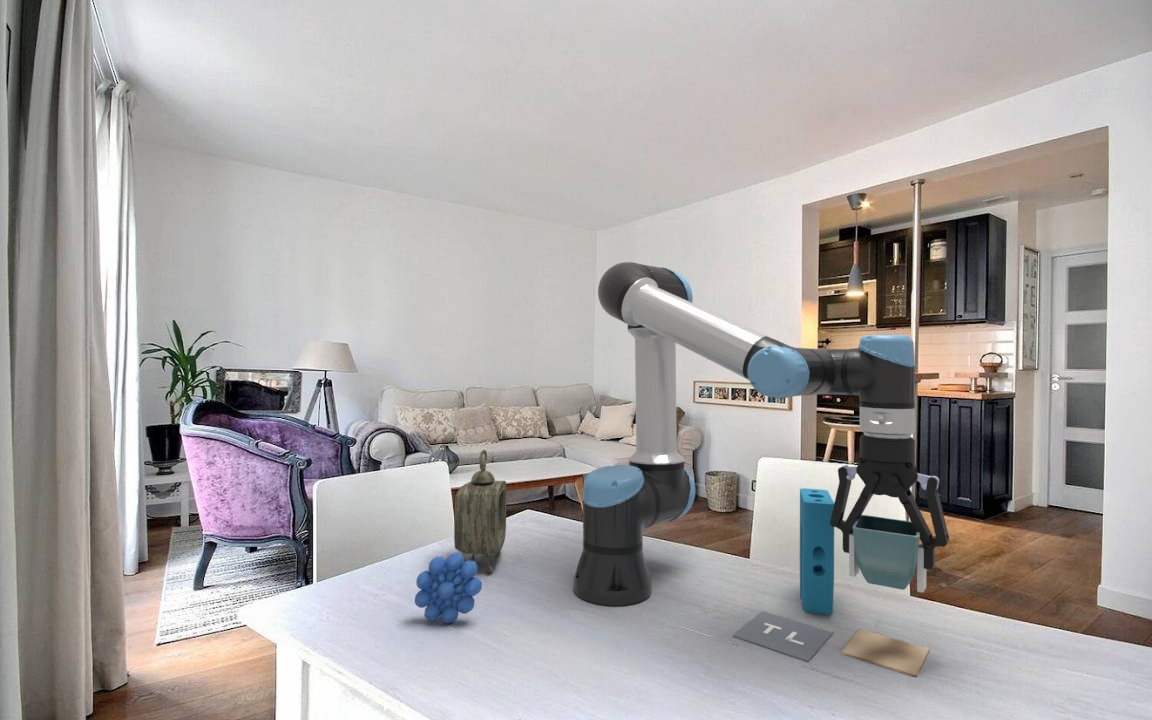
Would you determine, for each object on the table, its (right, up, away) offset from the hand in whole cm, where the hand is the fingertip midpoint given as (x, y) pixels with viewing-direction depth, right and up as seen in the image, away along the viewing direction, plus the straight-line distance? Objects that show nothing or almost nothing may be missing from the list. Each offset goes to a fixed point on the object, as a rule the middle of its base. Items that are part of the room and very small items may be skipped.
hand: (886, 581), depth 88 cm
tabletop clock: (-69, -11, +37) cm, 79 cm away
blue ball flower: (-70, -11, +10) cm, 71 cm away
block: (-4, -11, +18) cm, 21 cm away
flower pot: (0, 0, 0) cm, 0 cm away
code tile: (-14, -11, +5) cm, 19 cm away
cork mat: (0, -11, 0) cm, 11 cm away
